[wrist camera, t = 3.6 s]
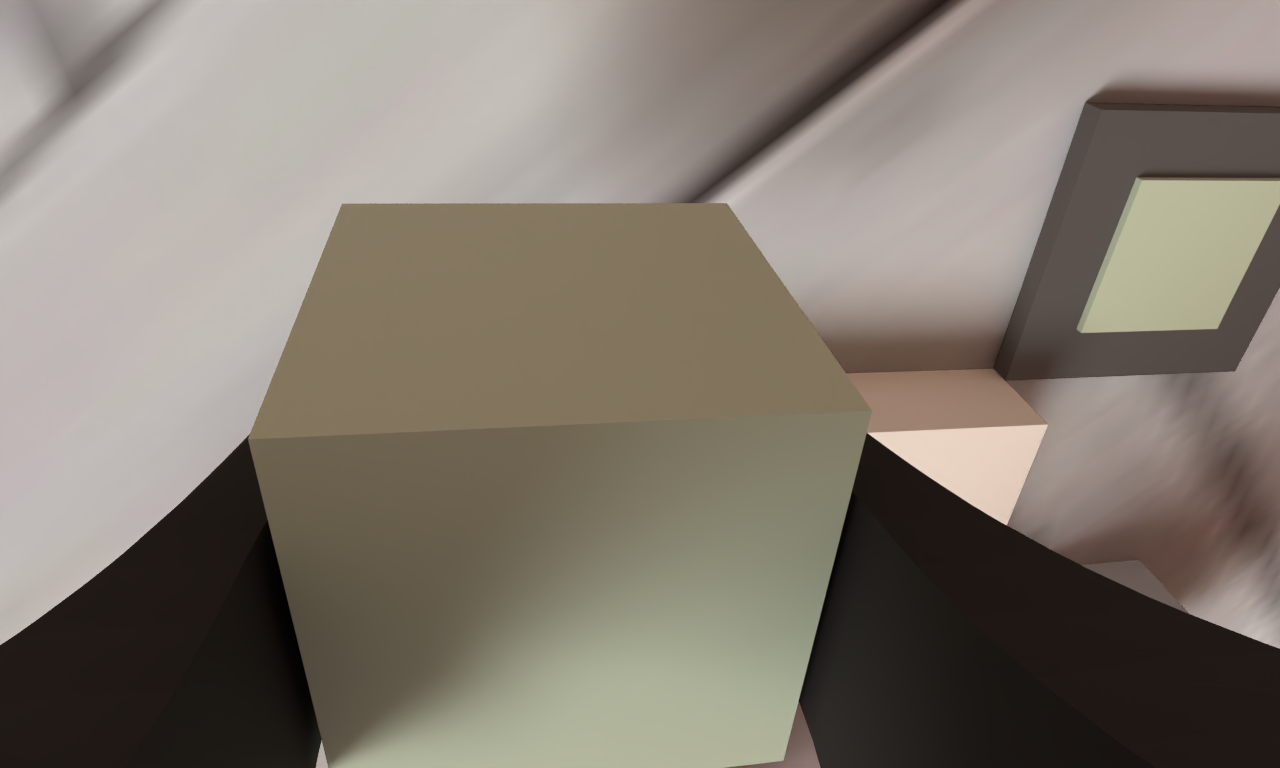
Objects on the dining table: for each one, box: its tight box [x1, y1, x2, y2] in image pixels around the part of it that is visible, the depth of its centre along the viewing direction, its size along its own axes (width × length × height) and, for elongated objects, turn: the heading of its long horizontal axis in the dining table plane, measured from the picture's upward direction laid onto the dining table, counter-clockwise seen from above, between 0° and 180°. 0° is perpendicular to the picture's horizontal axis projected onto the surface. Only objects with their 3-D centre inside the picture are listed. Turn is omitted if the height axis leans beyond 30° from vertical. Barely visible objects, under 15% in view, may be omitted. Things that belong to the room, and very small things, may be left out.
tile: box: [994, 103, 1280, 380], centre depth 20 cm, size 7×7×1 cm
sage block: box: [248, 203, 872, 768], centre depth 10 cm, size 5×5×5 cm
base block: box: [846, 369, 1048, 525], centre depth 23 cm, size 9×9×3 cm
